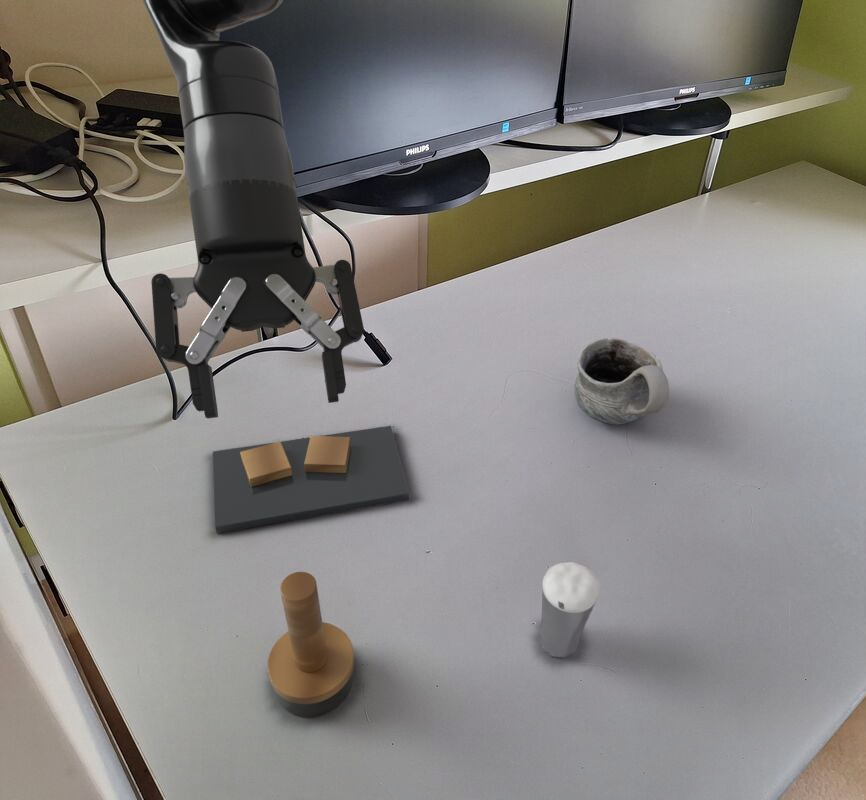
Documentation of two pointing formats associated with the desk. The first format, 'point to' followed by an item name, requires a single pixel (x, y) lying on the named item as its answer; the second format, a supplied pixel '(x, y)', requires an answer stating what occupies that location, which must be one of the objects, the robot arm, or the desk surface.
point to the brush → (309, 654)
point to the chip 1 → (266, 464)
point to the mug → (619, 381)
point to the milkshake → (566, 606)
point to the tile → (308, 483)
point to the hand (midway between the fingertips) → (274, 409)
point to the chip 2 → (327, 454)
